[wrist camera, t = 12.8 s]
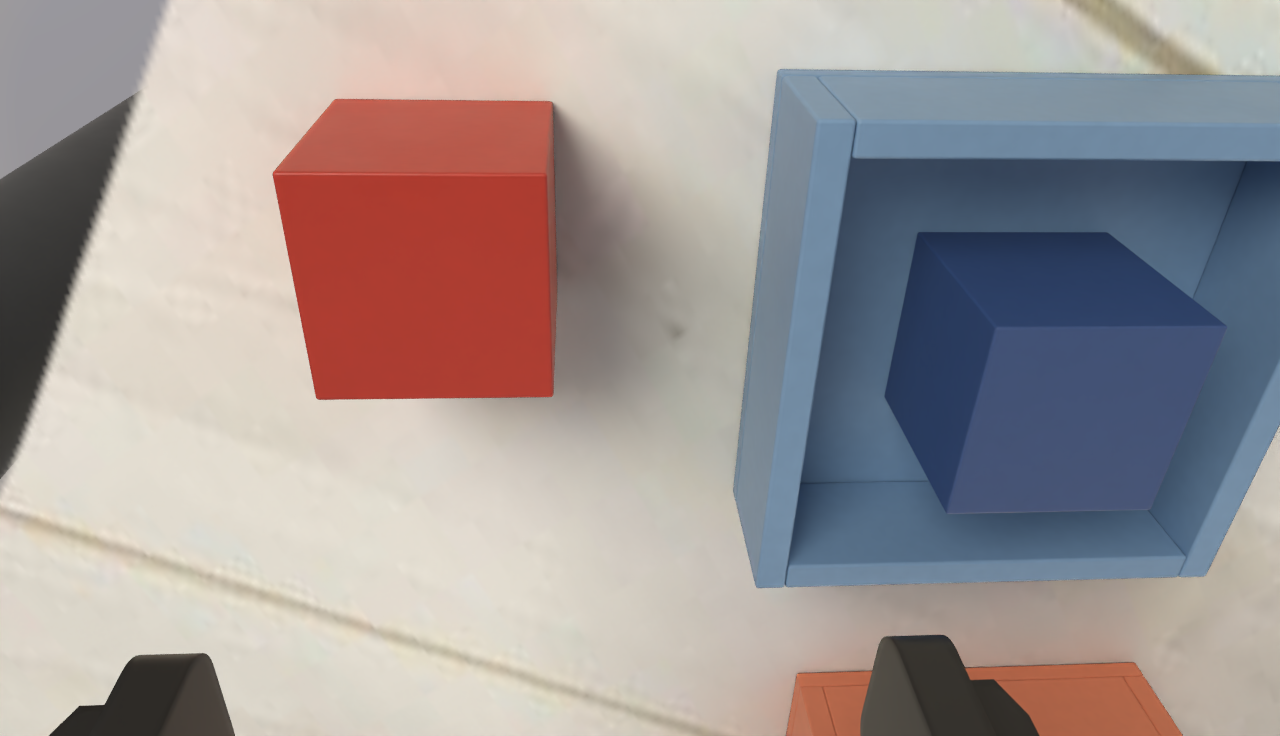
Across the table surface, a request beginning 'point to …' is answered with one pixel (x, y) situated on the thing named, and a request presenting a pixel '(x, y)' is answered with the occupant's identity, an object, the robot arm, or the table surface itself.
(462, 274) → the red block
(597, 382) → the table surface
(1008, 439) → the blue block
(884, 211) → the blue bin
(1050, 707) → the orange bin
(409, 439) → the table surface
